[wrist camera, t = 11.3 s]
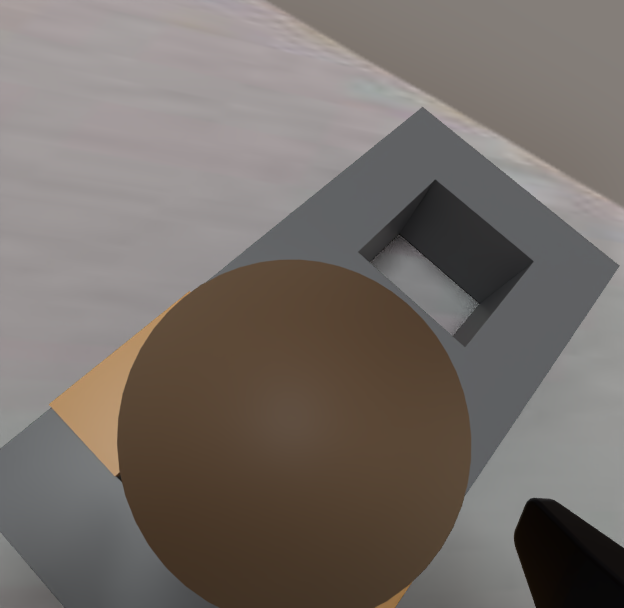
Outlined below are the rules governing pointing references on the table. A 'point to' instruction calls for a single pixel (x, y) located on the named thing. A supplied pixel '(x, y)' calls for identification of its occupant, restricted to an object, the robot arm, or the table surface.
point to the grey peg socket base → (354, 256)
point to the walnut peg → (294, 439)
